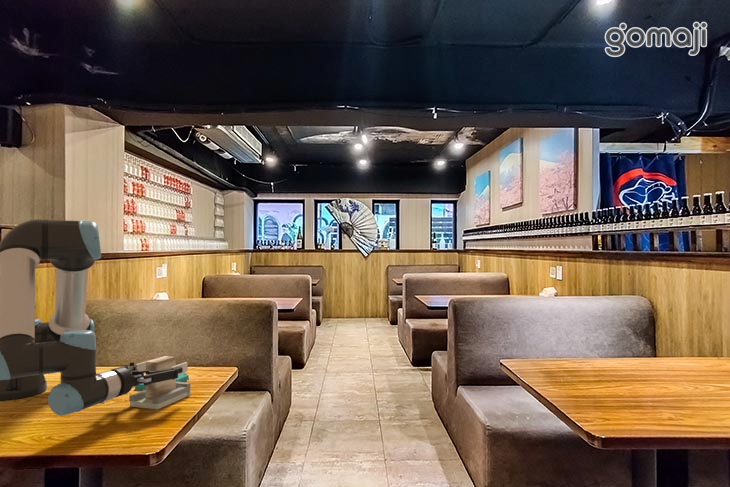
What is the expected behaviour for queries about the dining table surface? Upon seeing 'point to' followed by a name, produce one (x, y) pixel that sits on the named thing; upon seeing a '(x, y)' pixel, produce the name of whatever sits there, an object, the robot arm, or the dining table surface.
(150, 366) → the beige rectangular block
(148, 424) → the dining table surface
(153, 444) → the dining table surface
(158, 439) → the dining table surface
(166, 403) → the groove board
